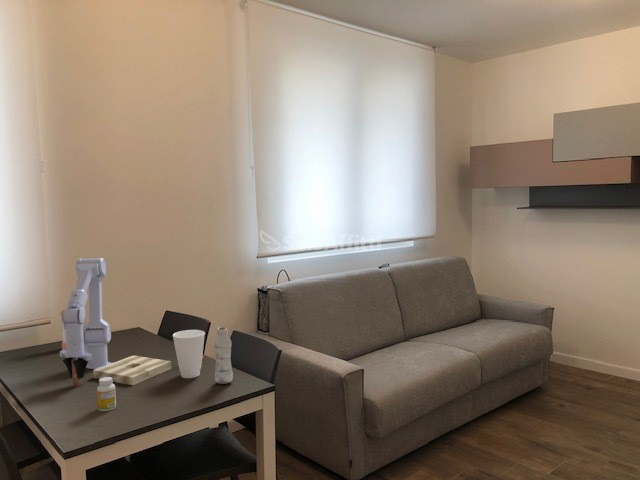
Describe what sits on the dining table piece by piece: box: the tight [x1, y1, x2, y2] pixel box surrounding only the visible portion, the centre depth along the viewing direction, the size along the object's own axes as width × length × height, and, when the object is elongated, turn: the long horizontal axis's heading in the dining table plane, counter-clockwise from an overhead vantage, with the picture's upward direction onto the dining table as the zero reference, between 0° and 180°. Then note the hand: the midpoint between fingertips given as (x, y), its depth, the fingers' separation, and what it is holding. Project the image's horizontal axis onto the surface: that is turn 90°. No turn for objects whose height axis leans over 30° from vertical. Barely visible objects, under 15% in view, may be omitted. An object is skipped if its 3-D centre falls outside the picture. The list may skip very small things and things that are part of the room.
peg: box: [72, 359, 83, 388], centre depth 194 cm, size 3×3×10 cm
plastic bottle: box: [213, 326, 234, 385], centre depth 193 cm, size 6×7×20 cm
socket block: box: [92, 355, 172, 386], centre depth 207 cm, size 20×20×3 cm
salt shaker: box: [59, 308, 67, 351], centre depth 241 cm, size 7×7×19 cm
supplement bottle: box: [96, 377, 117, 412], centre depth 172 cm, size 5×5×10 cm
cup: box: [172, 329, 206, 379], centre depth 203 cm, size 12×12×16 cm
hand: (77, 377), depth 194 cm, fingers closed on peg, 3 cm apart
